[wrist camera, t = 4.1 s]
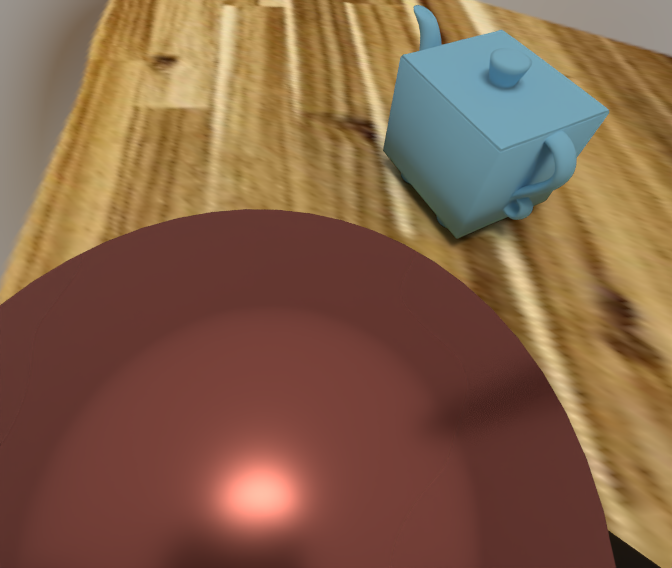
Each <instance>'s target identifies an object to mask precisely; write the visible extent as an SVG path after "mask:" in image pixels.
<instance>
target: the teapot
mask: <svg viewBox="0 0 672 568" xmlns="http://www.w3.org/2000/svg"><path fill="white" fill-rule="evenodd" d="M414 13H415V15H416V18H417V21H418V24H419V29H420V50H419V51H418V52H414V53H410V54H405V55H402V57H401V58H400V63H399V69H398V74H397V79H396V85H395V90H394V95H393V101H392V106H391V111H390V117H389V122H388V127H387V132H386V138H385V143H384V148H383V151H384V152H385V154H386V155H387V156H388V157H389V158H390V160H391V161H392V162H393V163H394V165H395V166H396V167H397V168H398V169H399V171H400V172H401V176H402V178H403V180H404V181H406V182H407V183H409V184H411V185H412V186H413V187H414V189H415V190H416V191H417V192H418V193H419V195H420V196H421V197H422V198H423V199H424V201H425V202H426V203H427V204H428V205H429V207H430V208H431V209H432V210H433V211H434V213H435V214H436V215H437V220H438V222H439V223H440V224H441V225H442V226H444V227H445V228H448V229H449V231H450V232H451V233H452V234H453V235H454V237H455V238H456V239H458V238H460V237H462V236H465V235H467V234H469V233H472V232H474V231H476V230H479V229H481V228H483V227H486V226H488V225H490V224H493V223H495V222H497V221H500V220H502V219H504V218H507V217H509V218H511V219H514V220H519V219H524V218H526V217H527V216H529V215H530V213H531V212H532V210H533V206H535V205H537V204H539V203H542V202H544V201H546V200H547V198H548V197H549V195H550V194H551V193H552V191H553V190H555V189H557V188H559V187H561V186H562V185H564V184H565V183H566V182H567V181H568V180H569V179H570V178H571V177H572V175H573V173H574V171H575V168H576V158H577V157H578V155H579V154H580V153H581V151H582V150H583V148H584V147H585V146H586V144H587V143H588V142H589V140H590V139H591V137H592V136H593V135H594V133H595V132H596V130H597V129H598V128H599V126H600V125H601V124H602V122H603V121H604V119H605V118H606V117H607V115H608V114H609V110H608V109H607V108H606V107H604V106H603V105H602V104H601V103H599V102H598V101H597V100H595V99H594V98H593V97H592V96H590V95H589V94H588V93H586V92H585V91H584V90H582V89H581V88H580V87H578V86H577V85H576V84H574V83H573V82H572V81H570V80H569V79H568V78H566V77H565V76H564V75H562V74H561V73H560V72H558V71H557V70H556V69H554V68H553V67H552V66H550V65H549V64H548V63H546V62H545V61H544V60H542V59H541V58H540V57H538V56H537V55H536V54H534V53H533V52H532V51H530V50H529V49H528V48H526V47H525V46H524V45H522V44H521V43H520V42H518V41H517V40H515V39H514V38H513V37H511V36H510V35H509V34H507V33H506V32H504V31H503V30H499V31H496V32H492V33H488V34H484V35H480V36H476V37H472V38H467V39H463V40H459V41H456V42H452V43H448V44H444V45H441V37H440V31H439V27H438V23H437V20H436V18H435V16H434V15H433V14H432V13H431V12H430V11H429V10H428V9H426V8H425V7H423V6H420V5H416V6H414Z"/></svg>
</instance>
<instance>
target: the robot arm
mask: <svg viewBox="0 0 672 568" xmlns="http://www.w3.org/2000/svg"><path fill="white" fill-rule="evenodd" d="M608 534H609V538H610V543H611V547H612V552H613V557H614V561H615V566H616V568H661V567H659V566H658V565H657V564H655V563H654V562H652V561H651V560H649V559H648V558H647V557H645V556H644V555H642V554H641V553H640V552H638V551H637V550H635V549H634V548H632V547H631V546H630V545H628V544H627V543H625V542H624V541H623V540H621V539H620V538H618V537H617V536H615V535H614V534H613V533H611V532H610V531H608Z"/></svg>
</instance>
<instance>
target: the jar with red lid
mask: <svg viewBox="0 0 672 568" xmlns="http://www.w3.org/2000/svg"><path fill="white" fill-rule="evenodd" d="M0 568H616V566H615V561H614V557H613V552H612V547H611V543H610V538H609V534H608V529H607V524H606V520H605V515H604V511H603V508H602V505H601V502H600V498H599V495H598V492H597V489H596V486H595V483H594V480H593V477H592V474H591V471H590V468H589V465H588V462H587V459H586V457H585V454H584V452H583V450H582V448H581V445H580V443H579V441H578V439H577V436H576V434H575V432H574V430H573V427H572V425H571V423H570V421H569V418H568V416H567V414H566V412H565V410H564V408H563V407H562V405H561V403H560V401H559V400H558V398H557V396H556V394H555V393H554V391H553V389H552V388H551V386H550V384H549V382H548V381H547V379H546V377H545V375H544V374H543V372H542V371H541V369H540V368H539V367H538V365H537V364H536V362H535V361H534V360H533V358H532V357H531V355H530V354H529V353H528V351H527V350H526V349H525V347H524V346H523V344H522V343H521V342H520V340H519V339H518V338H517V337H516V335H515V334H514V333H513V332H512V331H511V330H510V329H509V328H508V326H507V325H506V324H505V323H504V322H503V321H502V320H501V319H500V317H499V316H498V315H497V314H496V313H495V312H494V311H493V310H492V309H491V308H490V307H489V306H488V305H487V304H486V303H485V302H484V301H483V300H482V299H480V298H479V297H478V296H477V295H476V294H475V293H474V292H473V291H472V290H471V289H469V288H468V287H467V286H466V285H465V284H464V283H463V282H461V281H460V280H459V279H457V278H456V277H454V276H453V275H452V274H450V273H449V272H448V271H446V270H445V269H443V268H442V267H441V266H439V265H438V264H437V263H435V262H434V261H432V260H430V259H429V258H427V257H425V256H423V255H422V254H420V253H418V252H417V251H415V250H413V249H411V248H410V247H408V246H406V245H404V244H402V243H400V242H398V241H395V240H393V239H391V238H389V237H387V236H384V235H382V234H380V233H378V232H375V231H373V230H370V229H367V228H364V227H361V226H358V225H355V224H352V223H349V222H345V221H342V220H338V219H333V218H329V217H324V216H319V215H315V214H310V213H301V212H292V211H283V210H250V209H244V210H232V211H220V212H210V213H204V214H199V215H193V216H188V217H182V218H177V219H173V220H169V221H166V222H162V223H159V224H155V225H151V226H148V227H144V228H141V229H138V230H136V231H133V232H130V233H128V234H125V235H123V236H120V237H117V238H115V239H112V240H109V241H107V242H104V243H102V244H100V245H98V246H96V247H94V248H92V249H90V250H88V251H86V252H84V253H82V254H80V255H78V256H76V257H74V258H72V259H70V260H68V261H66V262H65V263H63V264H61V265H60V266H58V267H56V268H55V269H53V270H51V271H50V272H48V273H46V274H45V275H43V276H41V277H40V278H38V279H36V280H35V281H33V282H31V283H30V284H29V285H27V286H26V287H25V288H23V289H22V290H20V291H19V292H18V293H16V294H15V295H14V296H12V297H11V298H9V299H8V300H7V301H5V302H4V303H3V304H1V305H0Z"/></svg>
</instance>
